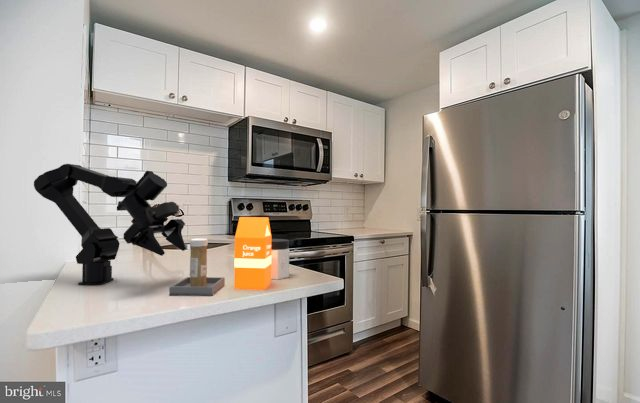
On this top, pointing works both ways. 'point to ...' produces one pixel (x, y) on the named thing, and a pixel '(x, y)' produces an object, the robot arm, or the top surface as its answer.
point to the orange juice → (252, 253)
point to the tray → (186, 290)
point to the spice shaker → (198, 262)
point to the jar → (279, 258)
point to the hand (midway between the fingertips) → (174, 252)
